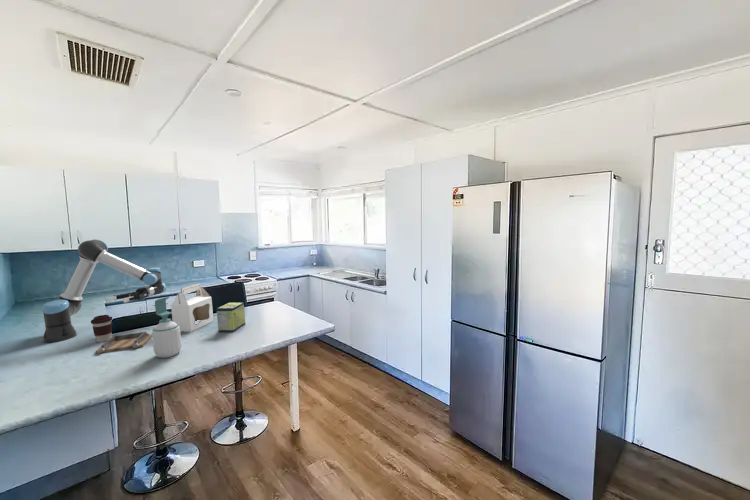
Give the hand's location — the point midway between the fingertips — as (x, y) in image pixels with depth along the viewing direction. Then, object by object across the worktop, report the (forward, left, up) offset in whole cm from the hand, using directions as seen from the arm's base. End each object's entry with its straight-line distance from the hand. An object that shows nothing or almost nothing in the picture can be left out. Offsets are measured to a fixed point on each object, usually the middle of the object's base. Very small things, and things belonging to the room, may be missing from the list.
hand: (114, 300), depth 203 cm
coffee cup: (-5, -8, -22) cm, 24 cm away
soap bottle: (+39, -50, -22) cm, 68 cm away
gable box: (+43, -2, -22) cm, 49 cm away
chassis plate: (+11, -23, -22) cm, 34 cm away
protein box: (+68, -19, -22) cm, 74 cm away
